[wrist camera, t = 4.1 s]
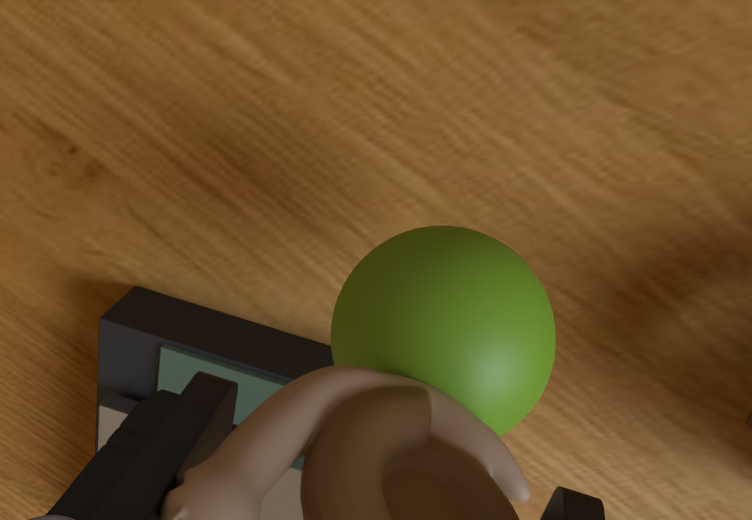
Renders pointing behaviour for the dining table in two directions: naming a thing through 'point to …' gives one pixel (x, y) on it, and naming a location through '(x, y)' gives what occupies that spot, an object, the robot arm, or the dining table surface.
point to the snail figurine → (399, 394)
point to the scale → (195, 351)
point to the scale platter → (278, 505)
